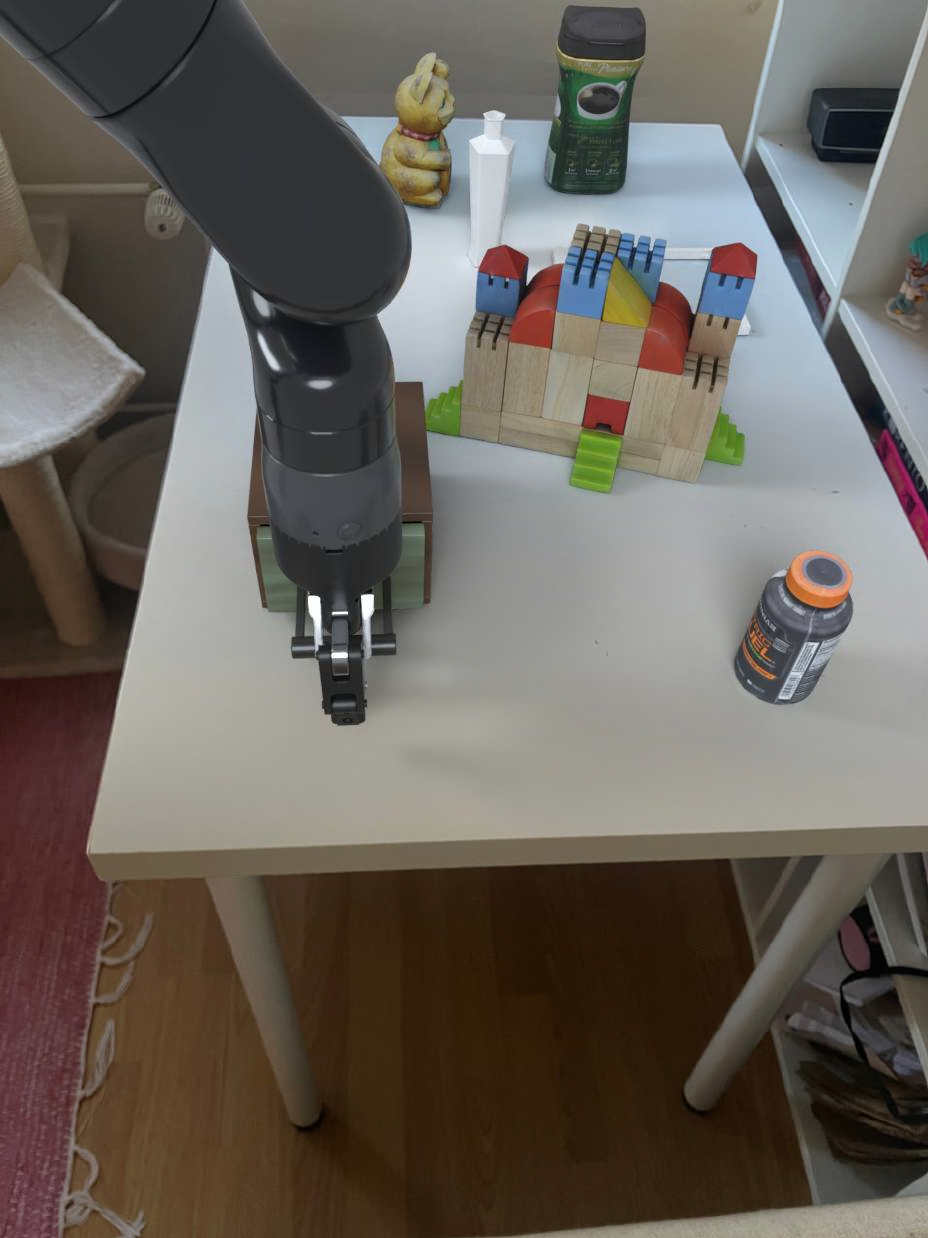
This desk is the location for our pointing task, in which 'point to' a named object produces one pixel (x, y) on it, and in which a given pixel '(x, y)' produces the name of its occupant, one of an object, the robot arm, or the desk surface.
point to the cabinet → (412, 477)
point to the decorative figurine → (421, 136)
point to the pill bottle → (795, 628)
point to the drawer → (389, 594)
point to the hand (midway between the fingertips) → (348, 670)
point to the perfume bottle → (489, 185)
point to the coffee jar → (594, 98)
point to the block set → (602, 359)
